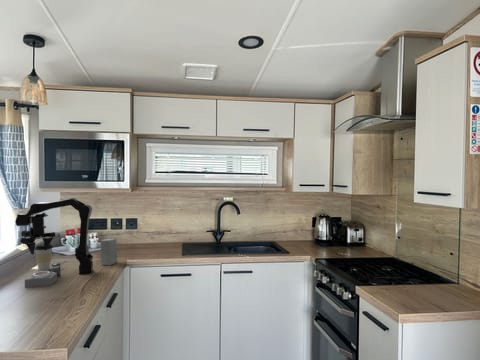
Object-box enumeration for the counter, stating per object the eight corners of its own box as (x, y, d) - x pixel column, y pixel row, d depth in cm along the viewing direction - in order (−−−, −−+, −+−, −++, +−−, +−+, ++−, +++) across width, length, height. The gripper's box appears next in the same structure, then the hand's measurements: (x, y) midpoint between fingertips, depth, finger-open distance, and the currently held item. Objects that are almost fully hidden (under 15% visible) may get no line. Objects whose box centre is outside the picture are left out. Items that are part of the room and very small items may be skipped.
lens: (62, 274, 182) (62, 262, 182) (59, 277, 178) (59, 264, 177) (53, 275, 181) (53, 263, 181) (50, 277, 177) (50, 265, 177)
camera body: (57, 280, 173) (56, 269, 172) (50, 285, 164) (50, 275, 164) (32, 281, 170) (32, 271, 170) (24, 287, 161) (24, 276, 161)
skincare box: (109, 265, 199) (109, 240, 199) (99, 265, 201) (99, 240, 200) (117, 262, 207) (117, 238, 207) (108, 261, 209) (107, 237, 209)
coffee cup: (32, 272, 186) (32, 247, 186) (38, 267, 196) (37, 243, 195) (50, 271, 189) (50, 246, 189) (55, 266, 198) (55, 242, 198)
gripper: (39, 222, 190) (40, 248, 191) (11, 227, 172) (12, 256, 172) (55, 222, 188) (56, 248, 188) (28, 227, 170) (29, 256, 170)
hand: (39, 252), depth 180 cm, fingers open, 9 cm apart
